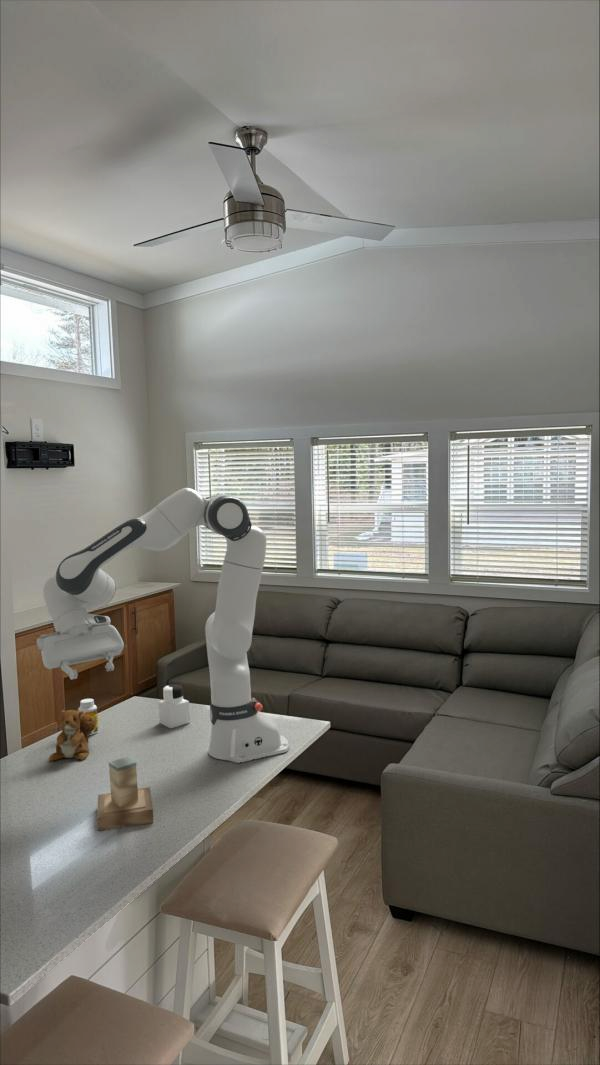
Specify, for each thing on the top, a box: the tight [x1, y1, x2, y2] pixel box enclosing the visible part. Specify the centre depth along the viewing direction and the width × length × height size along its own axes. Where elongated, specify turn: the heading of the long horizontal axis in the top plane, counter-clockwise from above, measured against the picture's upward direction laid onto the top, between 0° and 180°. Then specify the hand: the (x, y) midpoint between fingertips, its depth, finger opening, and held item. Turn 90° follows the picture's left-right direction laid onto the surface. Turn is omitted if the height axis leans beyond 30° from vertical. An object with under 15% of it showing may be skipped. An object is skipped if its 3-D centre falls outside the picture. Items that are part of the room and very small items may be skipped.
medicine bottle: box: [158, 683, 191, 729], centre depth 222 cm, size 7×7×12 cm
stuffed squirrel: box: [48, 709, 97, 762], centre depth 201 cm, size 10×14×13 cm
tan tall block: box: [108, 756, 139, 807], centre depth 162 cm, size 5×5×9 cm
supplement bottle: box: [77, 698, 99, 736], centre depth 217 cm, size 6×6×10 cm
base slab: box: [96, 786, 154, 832], centre depth 163 cm, size 12×12×3 cm
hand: (93, 673), depth 175 cm, fingers open, 8 cm apart
